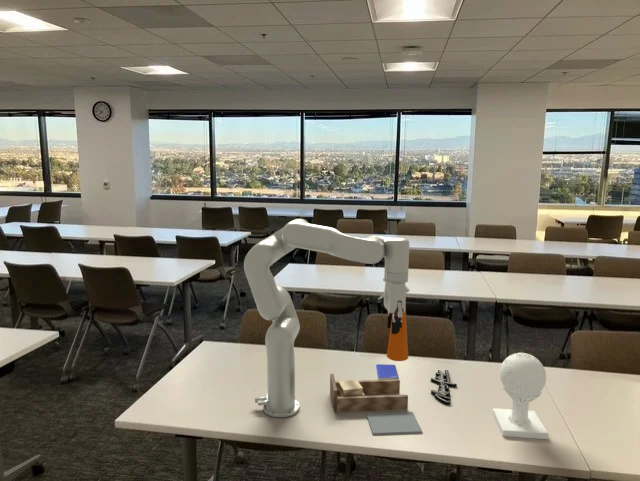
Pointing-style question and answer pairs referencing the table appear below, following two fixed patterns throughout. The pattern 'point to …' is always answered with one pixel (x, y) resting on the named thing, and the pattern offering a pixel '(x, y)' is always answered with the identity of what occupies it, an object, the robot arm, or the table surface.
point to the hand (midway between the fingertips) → (394, 330)
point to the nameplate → (442, 387)
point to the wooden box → (370, 397)
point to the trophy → (521, 396)
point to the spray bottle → (398, 338)
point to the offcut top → (350, 388)
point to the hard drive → (387, 372)
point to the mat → (393, 423)
